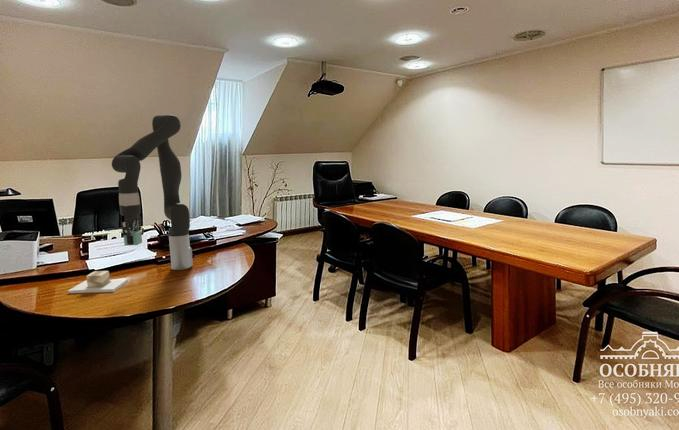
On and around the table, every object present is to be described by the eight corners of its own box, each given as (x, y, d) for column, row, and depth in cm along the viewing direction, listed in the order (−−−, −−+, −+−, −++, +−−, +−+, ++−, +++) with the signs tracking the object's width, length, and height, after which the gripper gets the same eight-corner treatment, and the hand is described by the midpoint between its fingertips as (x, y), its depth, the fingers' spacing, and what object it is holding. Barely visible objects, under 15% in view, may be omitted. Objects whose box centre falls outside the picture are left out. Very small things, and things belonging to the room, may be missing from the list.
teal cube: (142, 242, 157) (141, 231, 156) (137, 245, 152) (136, 233, 152) (130, 242, 157) (129, 231, 156) (124, 245, 152) (123, 233, 151)
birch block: (110, 281, 160) (108, 270, 159) (102, 286, 154) (101, 275, 153) (95, 282, 159) (94, 271, 158) (87, 287, 153) (86, 275, 152)
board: (127, 281, 163) (127, 278, 163) (114, 291, 152) (113, 288, 151) (85, 282, 162) (85, 280, 162) (68, 293, 150) (68, 290, 150)
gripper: (128, 201, 158) (131, 239, 161) (111, 206, 144) (115, 247, 147) (146, 201, 159) (149, 238, 162) (131, 205, 145) (135, 247, 148)
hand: (133, 242), depth 154 cm, fingers closed on teal cube, 5 cm apart
